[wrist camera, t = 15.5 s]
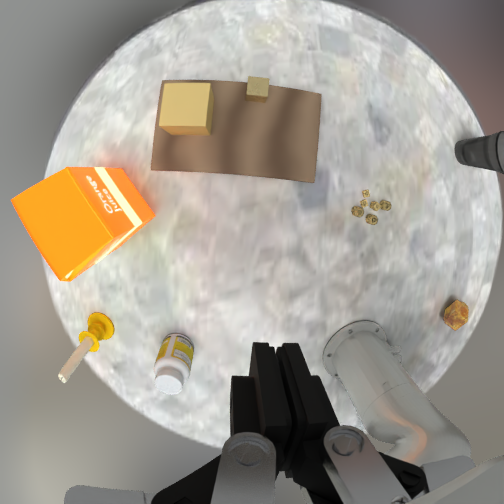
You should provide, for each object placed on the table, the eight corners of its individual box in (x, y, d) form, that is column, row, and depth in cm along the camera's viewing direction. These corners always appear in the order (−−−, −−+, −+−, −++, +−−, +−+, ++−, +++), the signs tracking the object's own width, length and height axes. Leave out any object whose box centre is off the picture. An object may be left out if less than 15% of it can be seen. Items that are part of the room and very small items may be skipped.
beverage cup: (448, 163, 37) (535, 170, 18) (451, 127, 35) (535, 121, 16) (470, 176, 38) (550, 188, 18) (473, 143, 36) (551, 144, 17)
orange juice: (122, 167, 34) (31, 165, 15) (156, 215, 36) (86, 254, 17) (86, 202, 35) (-7, 227, 16) (119, 247, 37) (41, 305, 18)
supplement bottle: (166, 358, 43) (154, 397, 33) (159, 332, 41) (144, 369, 32) (196, 358, 43) (190, 398, 33) (192, 332, 41) (183, 371, 32)
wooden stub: (266, 86, 31) (269, 78, 29) (264, 103, 32) (267, 96, 29) (247, 83, 31) (248, 76, 28) (245, 100, 32) (246, 94, 29)
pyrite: (457, 289, 44) (445, 300, 47) (455, 310, 40) (442, 321, 43) (471, 301, 42) (459, 312, 45) (470, 323, 38) (457, 333, 41)
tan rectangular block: (214, 99, 31) (210, 83, 25) (210, 135, 33) (205, 126, 26) (175, 98, 31) (164, 83, 25) (171, 134, 32) (158, 126, 26)
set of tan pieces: (386, 203, 39) (392, 205, 37) (369, 229, 40) (375, 232, 38) (364, 183, 38) (370, 184, 36) (347, 211, 39) (352, 212, 37)
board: (319, 96, 33) (321, 94, 32) (311, 182, 37) (314, 183, 35) (164, 83, 31) (162, 80, 30) (153, 170, 35) (150, 170, 33)
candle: (88, 332, 40) (48, 386, 25) (88, 308, 39) (42, 359, 24) (113, 342, 41) (78, 401, 26) (115, 317, 40) (74, 375, 25)
